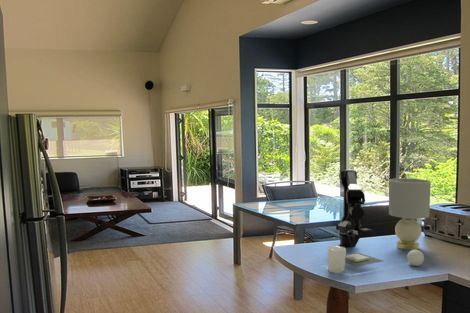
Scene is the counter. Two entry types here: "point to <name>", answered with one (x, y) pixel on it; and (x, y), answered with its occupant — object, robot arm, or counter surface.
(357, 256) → the tile
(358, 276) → the counter surface
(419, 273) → the counter surface
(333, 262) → the white cup
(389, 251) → the counter surface
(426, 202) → the lamp
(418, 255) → the seamed sphere
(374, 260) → the mat
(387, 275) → the counter surface
